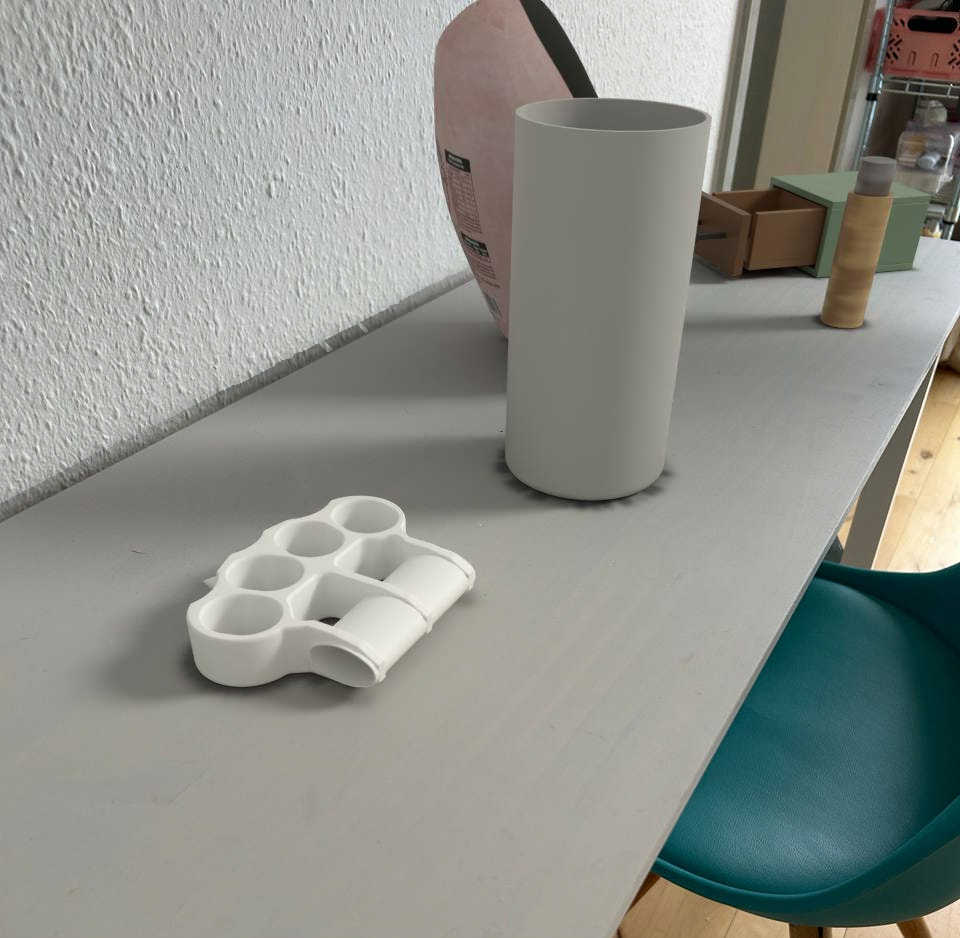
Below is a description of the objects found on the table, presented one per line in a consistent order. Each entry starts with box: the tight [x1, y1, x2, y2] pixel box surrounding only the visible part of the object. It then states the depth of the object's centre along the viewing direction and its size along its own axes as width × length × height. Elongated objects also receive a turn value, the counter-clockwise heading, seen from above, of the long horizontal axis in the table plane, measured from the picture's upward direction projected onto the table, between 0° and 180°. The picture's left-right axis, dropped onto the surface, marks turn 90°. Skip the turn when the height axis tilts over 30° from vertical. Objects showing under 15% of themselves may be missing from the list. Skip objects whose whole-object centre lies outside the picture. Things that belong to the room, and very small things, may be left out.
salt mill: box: [819, 155, 898, 329], centre depth 102 cm, size 4×4×16 cm
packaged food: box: [433, 0, 599, 340], centre depth 89 cm, size 22×20×30 cm
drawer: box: [693, 187, 828, 277], centre depth 119 cm, size 17×12×7 cm
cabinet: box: [768, 170, 932, 279], centre depth 123 cm, size 14×14×9 cm
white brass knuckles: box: [185, 495, 477, 688], centre depth 61 cm, size 3×18×15 cm
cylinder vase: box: [504, 97, 713, 501], centre depth 71 cm, size 12×12×25 cm
